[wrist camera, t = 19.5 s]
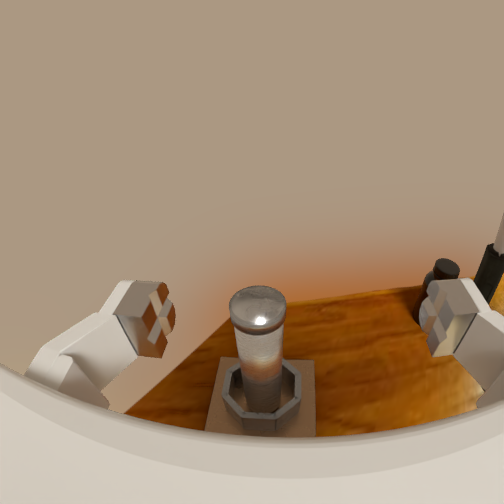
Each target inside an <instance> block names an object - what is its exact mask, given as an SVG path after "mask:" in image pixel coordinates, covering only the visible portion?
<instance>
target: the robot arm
mask: <svg viewBox="0 0 504 504" xmlns="http://www.w3.org/2000/svg"><path fill="white" fill-rule="evenodd" d="M168 294H169V291H168V288H167V285H166V284H165V283H163V282H152V281H137V280H136V281H134V280H122V281H120V282H119V283H118V285H117V286H116V288H115V289H114V291H113V292H112V293H111V295H110V296H109V298H108V299H107V301H106V302H105V304H104V305H103V307H102V308H101V310H100V311H99V313H93V314H92V315H90V316H89V317H87V318H85V319H84V320H83V321H81V322H79V323H78V324H76V325H74V326H73V327H71V328H70V329H68V330H67V331H65V332H63V333H62V334H60V335H59V336H57V337H56V338H54V339H53V340H51V341H49V342H48V343H46V344H45V345H43V346H42V347H41V349H40V350H39V352H38V353H37V355H36V356H35V358H34V360H33V361H32V363H31V365H30V366H29V368H28V370H27V371H26V373H25V375H24V376H23V375H21V374H19V373H18V372H16V371H14V370H12V369H10V368H8V367H6V366H5V365H3V364H1V363H0V504H504V316H502V315H501V314H499V313H498V312H496V311H492V310H491V309H490V307H489V305H488V304H487V302H486V300H485V299H484V297H483V296H482V294H481V293H480V291H479V289H478V288H477V286H476V285H475V283H474V282H473V280H471V279H470V278H460V279H451V280H435V281H431V282H430V284H429V285H428V288H427V294H428V297H427V298H426V299H425V300H424V301H423V302H422V304H421V307H420V311H419V321H420V325H421V328H422V331H424V332H425V333H426V334H427V335H428V337H427V340H426V342H427V344H428V347H429V350H430V353H431V355H432V357H437V356H444V355H451V354H453V356H454V357H455V358H456V359H457V360H458V361H459V362H460V363H461V365H462V366H463V367H464V368H465V369H466V370H467V371H468V372H469V373H470V374H471V375H472V376H473V378H474V379H475V380H476V381H477V382H478V383H479V384H480V385H481V387H482V388H483V389H484V390H485V393H484V394H483V395H482V396H481V397H480V398H479V399H478V400H477V402H476V405H477V408H478V409H475V410H472V411H469V412H465V413H462V414H459V415H455V416H452V417H448V418H445V419H441V420H437V421H433V422H429V423H424V424H420V425H415V426H410V427H405V428H399V429H393V430H387V431H380V432H373V433H365V434H355V435H344V436H330V437H260V436H245V435H233V434H224V433H215V432H208V431H201V430H194V429H188V428H182V427H177V426H172V425H167V424H162V423H157V422H153V421H149V420H144V419H140V418H136V417H133V416H129V415H125V414H122V413H118V412H115V411H112V410H108V407H109V402H108V400H107V399H106V398H105V397H104V396H103V394H102V393H101V392H100V391H101V390H102V389H103V388H104V387H106V386H107V385H108V384H109V383H110V382H111V381H112V380H113V379H114V378H115V377H116V376H118V375H119V374H120V373H121V372H122V371H123V370H124V369H125V368H126V367H127V366H129V364H131V363H132V362H133V361H134V360H135V359H136V358H137V357H138V356H146V357H155V358H162V355H163V353H164V350H165V348H166V345H167V343H168V342H167V339H166V337H165V336H167V335H168V334H169V333H170V332H172V330H173V327H174V325H175V308H174V306H173V303H172V302H171V301H170V300H169V299H168V298H167V296H168ZM137 355H138V356H137Z"/></svg>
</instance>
